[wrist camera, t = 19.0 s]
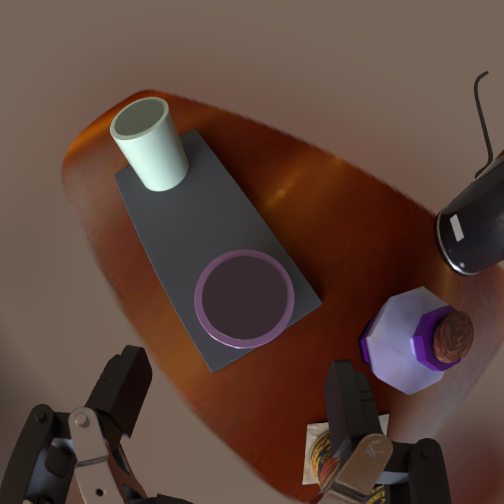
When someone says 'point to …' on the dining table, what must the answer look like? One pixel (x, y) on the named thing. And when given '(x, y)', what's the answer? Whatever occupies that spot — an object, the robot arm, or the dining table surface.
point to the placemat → (203, 238)
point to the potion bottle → (415, 340)
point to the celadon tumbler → (151, 143)
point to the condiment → (331, 459)
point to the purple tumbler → (244, 298)
